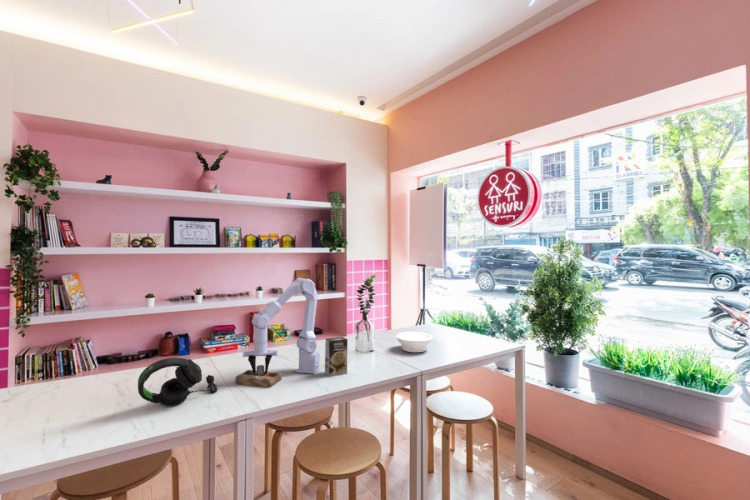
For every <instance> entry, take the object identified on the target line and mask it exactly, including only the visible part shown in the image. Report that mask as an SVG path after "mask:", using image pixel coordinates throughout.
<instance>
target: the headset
mask: <svg viewBox="0 0 750 500" xmlns="http://www.w3.org/2000/svg"><path fill="white" fill-rule="evenodd" d="M171 367H176V369H175V371H174V375H175V377H172V378H171V379H168V380H166V381H165V382H164V383H163V384H162V385H161V388H160V390H159V393H157V392H151V391H149V390H147V388H146V387H145V386H144V385H145V383H146V382H147V381H148V379H150V377H151V375H153V374H155V373H156V372H158V371H160V370H162V369H165V368H171ZM202 381H203V373H202V368H201V367H200V365H199V364H197V363H196V362H195V361H194V360H192V359H190V358H182V357H167V358H162V359H160V360H157V361H154V362H153V363H151V364H149V365H148V366H147V367H145V369H143V371H142V372H141V373H140V374H139V376H138V379H137V391H138V394H139V396H140V397H141V398H142V399H143V400H145V401H146V402H150V403H153V404H160V405H162V406H164V407H169V408H170V407H171V408H172V407H176V406H180V405H181V404H183V403H184V402H185V401H186V400H187V399H188V396H190V395H191V394H192V393H198V392H205V391H209V393H211V394H215V393H217V391H218V385H217V384H215V383H214V381H215V377H214V375H211V374H208V375H207V376H206V377H205V381H206V383H207V389H203V390H191V391H190V390H189V389H191V388H193V387H194V386H195V385H196V384H199V383H201V382H202Z"/></svg>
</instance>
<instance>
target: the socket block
mask: <svg viewBox="0 0 750 500" xmlns="http://www.w3.org/2000/svg"><path fill="white" fill-rule="evenodd" d="M281 380H282V373H281V372H273V371H268V372H267V373H265V370H264V375H263V376H257V370H256V372H255V374H253V370H252V369H247V370H245V371H244V372H242V373H240V374H238V375H236V376H235V385H242V386H244V385H245V386H253V387H264V388H272V387H273V386H275V385H276V384H278V383H279V382H281Z"/></svg>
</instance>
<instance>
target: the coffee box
mask: <svg viewBox="0 0 750 500" xmlns="http://www.w3.org/2000/svg"><path fill="white" fill-rule="evenodd" d="M324 339H325V345H324V346H325V347H324V348H325V349H324V356H325V357H324V373H325V374H326V375H327V376H328V377H334V376H340V375H344V374H345V375H346V374H348V338H346V337H343V336H336V337H328V338H324Z"/></svg>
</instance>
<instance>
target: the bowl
mask: <svg viewBox="0 0 750 500" xmlns="http://www.w3.org/2000/svg"><path fill="white" fill-rule="evenodd" d="M395 337H396V340H397V342H398V343H399V344H400V345H401V348H402V350H403V351H405V352H409V353H422V352H425V351H426V350H427V348H428V345H429V344H430V343H431V342H432V340H433V337H434V336H433V335H431V334H429V333H426V332H419V331H405V332H400V333H397V334H396V336H395Z"/></svg>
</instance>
